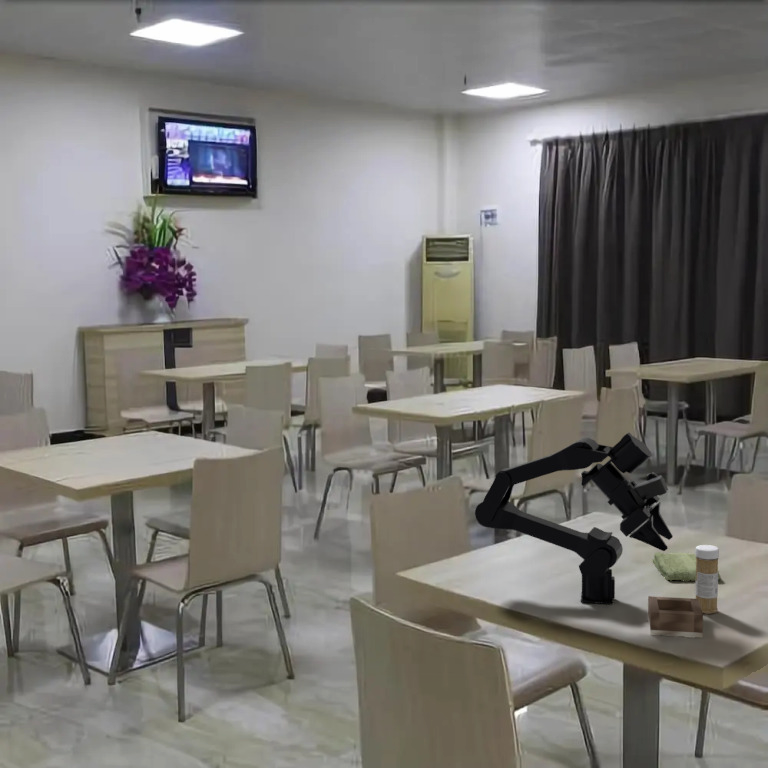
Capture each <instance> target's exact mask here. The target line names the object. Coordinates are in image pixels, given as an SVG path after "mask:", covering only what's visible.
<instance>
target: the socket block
mask: <svg viewBox="0 0 768 768" xmlns="http://www.w3.org/2000/svg"><path fill="white" fill-rule="evenodd" d="M647 600H648V603H647V605H648V606H647V607H648V608H647V614H648V615H647V620H648V626H649V627H648V628H649V633H650V636H660V635H669V636H668V637H678V636H685V637H684V638H695V637H700V638H699V639H703V638H704V613H702V610H701V606H700V603H699V600H698V599H696V598H688V597H669V596H652V595H651V596H648V599H647Z"/></svg>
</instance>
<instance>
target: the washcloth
mask: <svg viewBox="0 0 768 768" xmlns="http://www.w3.org/2000/svg"><path fill="white" fill-rule="evenodd" d="M653 555H654V556H653V557H654V558H652V562H653V563H652V564H653V565H654V564H655V565H654V566H655V567H656V568H657V570H658V571H660V572H659V573H660V575H662V576H663V578H664V577H665V578H664V580H666V581H668V580H670V581H669V582H673V581H672V580H681V581H680V582H689V581H690V580H691V582H695V581H696V555H695V553H689V552H672V553H664V552H662V551H657V552H655V553H654V554H653ZM720 579H721V575H720V571H719V570H718V580H720ZM683 580H684V581H683Z"/></svg>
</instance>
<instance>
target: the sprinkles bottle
mask: <svg viewBox="0 0 768 768" xmlns="http://www.w3.org/2000/svg"><path fill="white" fill-rule="evenodd" d="M694 551H695V553H694V554H695V555H696V581H694V582H695V585H694V586H695V587H694V588H695V589H694V594H695V599H698V600H699V603H700V606H701V610H702V613H703V614H705V615H707V614H708V615H709V614H710V615H712V614H716V613H717V612H718V609H719V608H718V593H719V592H718V591H719V590H718V589H719V579H718V571H719V558H720V549H719V548H718V546H716V545H712V544H711V545H710V544H700V545H697V546H695V550H694Z"/></svg>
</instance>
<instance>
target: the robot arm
mask: <svg viewBox="0 0 768 768" xmlns="http://www.w3.org/2000/svg"><path fill="white" fill-rule="evenodd" d="M652 456H653V454H652V452H651V450H650V449H649V447H648V446H647V445H646V443H644V442H643V441H641V440H640V439H638V437H635V436H633V435H632V434H631V433H630V432H627V433H626V434H624V435H623V436H622V437H621V439H620V440H619V441H618V442H617V443H615V444H614V446H609V445H606V444H600V443H598V442H596V440H594V439H593V438H591V437H582V438H581V439H578V440H576V441H575V442H572V443H571V444H569V445H567V446H566V447H564V448H561V449H560V450H558V451H556V452H554V453H551V454H549V455H545V456H542V457H539V458H536V459H533V460H531V461H530V460H529V461H527V462H524V463H521V464H518V465H517V464H516V465H515V466H511V467H505V468H503V469H502V470H500V471H498V472H497V473H496V474H495V478H494V480H493V482H492V484H491V486H490V487H489V489H488V491H487V492H486V495H485V496H484V497H483V501H481V502H480V503H478V505H477V506H476V507H475V510H474V517H475V519H476V521H477V524H479V525H480V526H482V527H484V528H487V529H488V528H489V529H493V530H505V531H506V530H507V531H508V530H509V531H511V530H512V531H516V532H518V533H521V534H524V535H527V536H530V537H532V538H535V539H538V540H541V541H544V542H546V543H549V544H551V545H555V546H557V547H561V548H562V549H566V550H569V551H572V552H573V553H576V555H578V556H579V557H581V559H583V560H582V562H581V563H580V564H579V565H578V569H579V572H580V573H581V593H580V594H581V595H580V597H581V598H580V602H581V603H586V604H587V603H588V604H590V603H591V604H606V605H607V604H608V605H609V604H611V605H613V600H614V599H615V598H616V596H615V594H616V591H615V588H616V587H615V586H616V583H615V582H616V578H615V576H613V570H612V567H614V565H615V564H616V563H617V562H618V561H619V559H620V558H621V556H622V555H623V550H624V549H623V544H622V543H621V541H620V539H619V538H618V537H616V536H614V535H613V532H612V531H611V532H609V531H604V530H602V529H600V528H598V527H595V526H593V528H591V530H590V531H589V532H584V531H579V530H576V529H573V528H570V527H567V526H564V525H561V524H559V523H556V522H553V521H551V520H548V519H545V518H541V517H540V516H536V515H533V514H530V513H527V512H524V511H522V510H521V509H519V508H518V506H516V505H515V504H514V503H512V502H510V499H511V496H512V493H513V490H514V486H515V485H518V484H522V483H525V482H527V481H530V480H534V479H536V478H540V477H543V476H546V475H549V474H552V473H556V472H562V471H576V470H583V471H582V472H581V474H580V475H581V486H582V487H585V486H586V484H588V483H589V482H590V481H591V482H592V484H594V485H595V487H596V488H597V489H598V490H599V491H600V492H601V493H602V494H603V495H604V496H605V498H607V499H608V501H607V503H608V505H610V506H612V505H613V506H614V508H616V510H618V512H620V513H621V517H620V518H622V520H621V521H620V523H619V530H620V531H621V533H622V535H624V536H625V537H628V536H629V538H631V539H634V540H637V541H640V542H642V543H644V544H647V545H649V546H651V547H653V548H655V549H657V550H660V551H661V552H665V551H667V549H668V546H667V543H666V542H665V541H664V539H667V540H669V541H670V540H671V539H672V538H673V533H672V532H671V530H670V528H669V527H668V525H667V523H666V522H665V520H664V518H663V516H662V514H661V501H660V500H661V499H660V497H659V496H663V495H665V494H667V493H668V492H667V491H668V490H669V487H668V486H667V484H666V479H665V478H664V477H663V475H662V474H660V475H658V474H657V473H656V472H654V471H653V472H650V473H648V474H647V475H646V480H643V481H642V482H640V483H638V484H637V483H636V482H635V480H631V479H630V480H628V479H627V478H626V477H625V476H624V474H625V473H627V474H633V473H634V472H635V471H636V470H637V469H638V468H640V467H642V465H643V464H644V463H645V462H647V461H648V460H649V459H650V458H651V457H652ZM608 457H609V458H610V459H608V461H606V462H605V463H604V464H603V463H602V462H603V461H604V460H606V459H607V458H608ZM594 463H596V464H595V465H594V466H593V467H592V468H590V470H588V471H587V470H585V469H587V468H589V467H591V466H592V465H593V464H594ZM601 463H602V464H601ZM662 537H663V538H664V539H663V538H662Z"/></svg>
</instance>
